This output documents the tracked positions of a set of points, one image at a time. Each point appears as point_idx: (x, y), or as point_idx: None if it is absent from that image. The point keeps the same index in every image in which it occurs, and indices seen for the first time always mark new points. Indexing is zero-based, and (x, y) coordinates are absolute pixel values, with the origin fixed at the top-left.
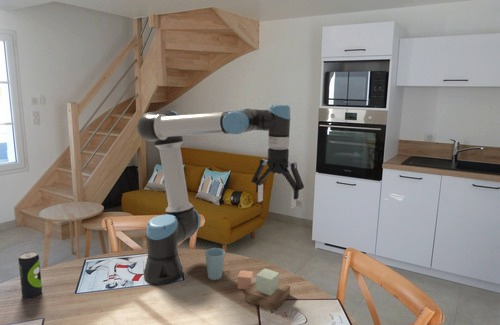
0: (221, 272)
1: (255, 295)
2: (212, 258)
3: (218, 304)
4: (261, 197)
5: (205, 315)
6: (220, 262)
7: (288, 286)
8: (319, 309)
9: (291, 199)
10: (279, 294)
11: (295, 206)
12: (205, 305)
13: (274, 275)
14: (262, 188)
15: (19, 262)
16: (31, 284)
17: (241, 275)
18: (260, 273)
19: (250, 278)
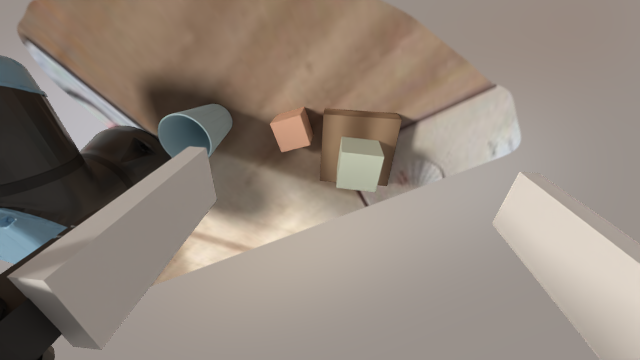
0: (228, 124)
1: None
2: None
3: (288, 197)
4: (193, 189)
5: (288, 224)
6: (218, 141)
7: (398, 122)
8: (467, 137)
9: (545, 286)
10: (387, 161)
11: (538, 177)
12: (272, 206)
13: (376, 172)
14: (119, 239)
15: None
16: None
17: (285, 144)
18: (342, 178)
19: (309, 144)
